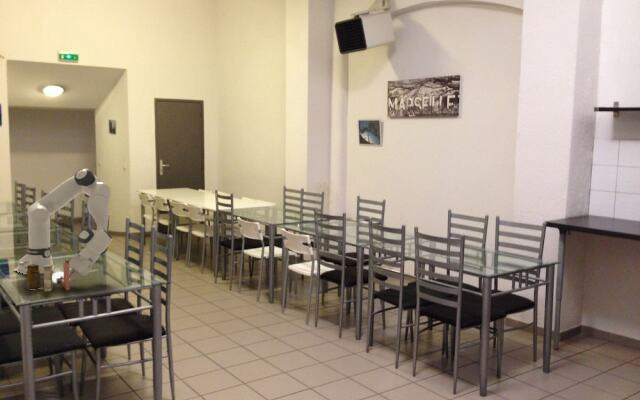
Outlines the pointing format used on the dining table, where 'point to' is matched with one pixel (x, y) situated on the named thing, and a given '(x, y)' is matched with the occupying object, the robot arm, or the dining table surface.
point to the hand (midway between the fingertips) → (69, 278)
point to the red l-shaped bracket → (66, 275)
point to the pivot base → (59, 280)
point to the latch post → (48, 277)
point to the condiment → (33, 277)
